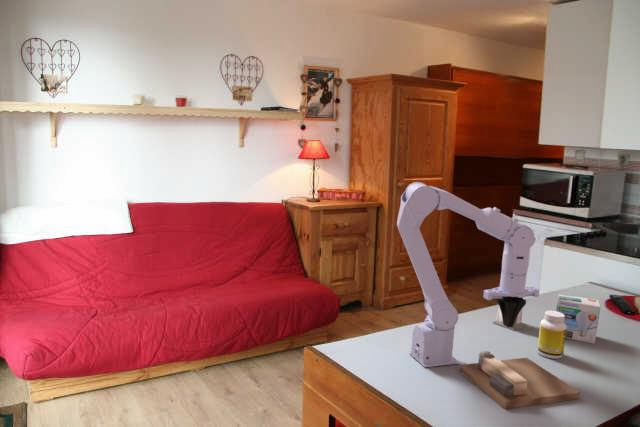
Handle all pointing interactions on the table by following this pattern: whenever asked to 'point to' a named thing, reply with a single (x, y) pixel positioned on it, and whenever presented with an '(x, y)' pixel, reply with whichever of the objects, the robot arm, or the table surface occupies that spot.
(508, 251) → the robot arm
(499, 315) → the skyscraper
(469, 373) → the stool seat
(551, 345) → the pill bottle
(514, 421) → the table surface
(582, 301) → the light bulb box
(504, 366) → the folding leg
